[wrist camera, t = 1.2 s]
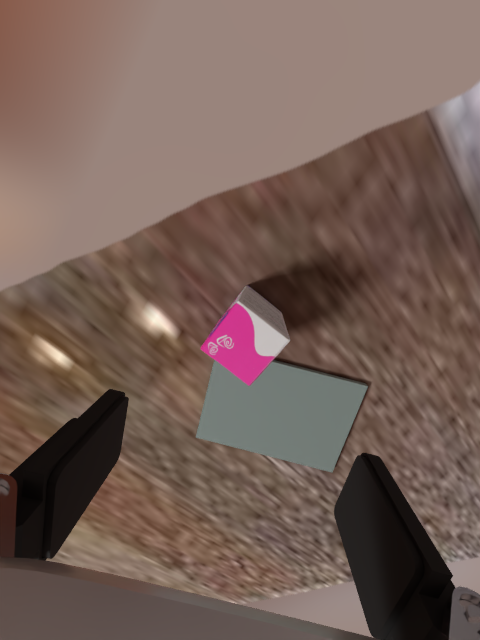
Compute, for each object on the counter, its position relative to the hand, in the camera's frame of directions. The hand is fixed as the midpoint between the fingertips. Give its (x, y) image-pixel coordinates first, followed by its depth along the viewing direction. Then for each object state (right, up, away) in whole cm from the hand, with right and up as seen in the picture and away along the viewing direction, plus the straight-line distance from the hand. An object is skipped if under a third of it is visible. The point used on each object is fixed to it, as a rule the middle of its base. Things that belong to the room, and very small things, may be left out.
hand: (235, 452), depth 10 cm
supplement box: (+1, +6, +23) cm, 24 cm away
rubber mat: (+5, -7, +26) cm, 28 cm away
